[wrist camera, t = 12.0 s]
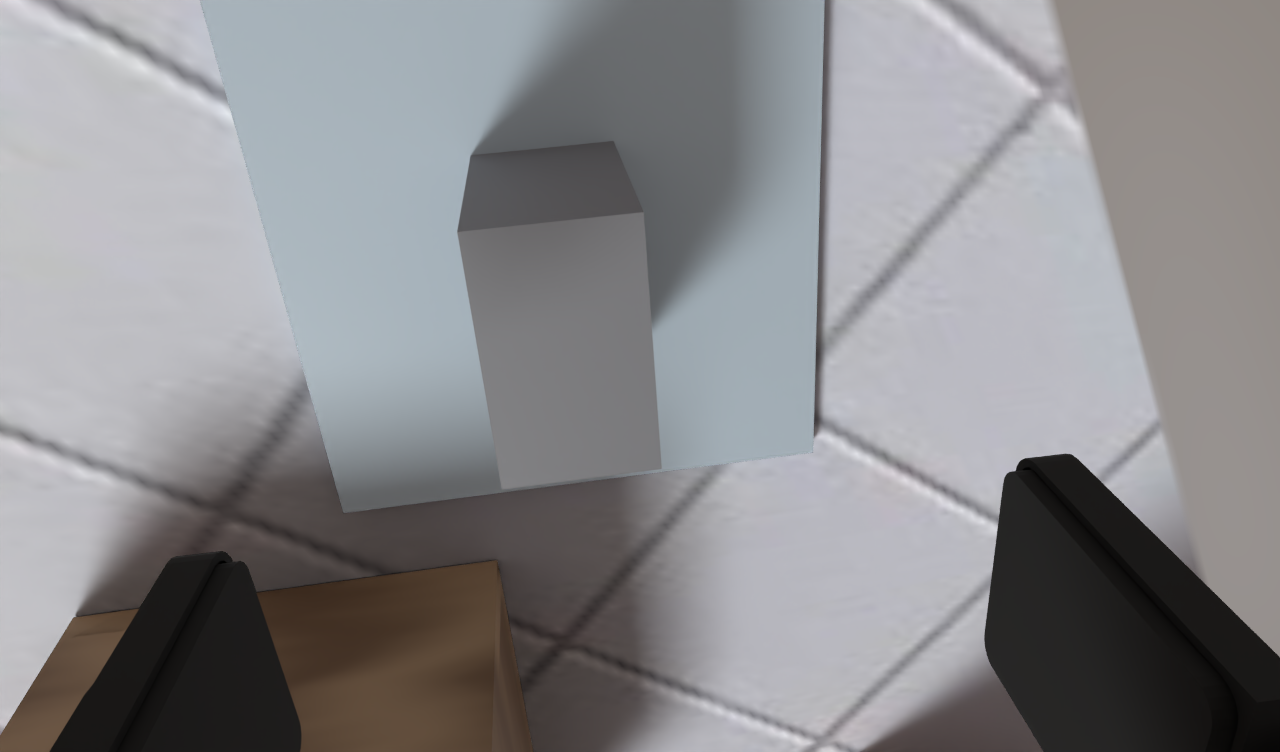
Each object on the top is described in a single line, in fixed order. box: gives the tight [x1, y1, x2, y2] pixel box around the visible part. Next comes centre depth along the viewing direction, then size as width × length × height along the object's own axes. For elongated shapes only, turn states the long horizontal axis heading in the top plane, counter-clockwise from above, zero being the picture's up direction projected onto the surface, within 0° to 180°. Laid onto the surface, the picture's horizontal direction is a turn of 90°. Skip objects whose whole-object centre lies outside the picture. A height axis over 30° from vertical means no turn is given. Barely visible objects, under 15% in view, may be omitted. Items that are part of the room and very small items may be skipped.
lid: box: [200, 0, 825, 513], centre depth 18 cm, size 12×12×6 cm
